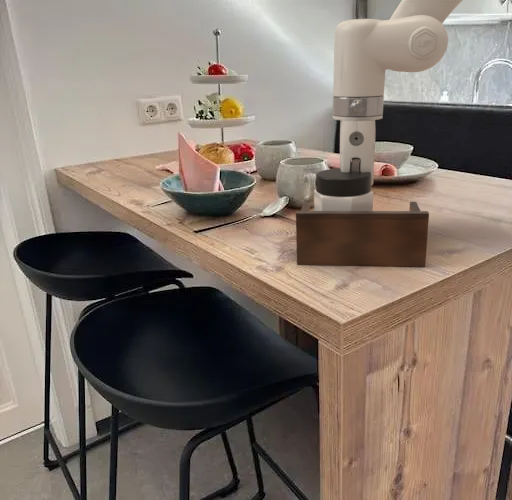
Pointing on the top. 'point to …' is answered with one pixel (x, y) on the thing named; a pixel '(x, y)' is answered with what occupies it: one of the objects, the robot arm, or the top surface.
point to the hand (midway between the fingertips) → (352, 223)
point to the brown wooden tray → (362, 237)
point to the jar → (343, 191)
